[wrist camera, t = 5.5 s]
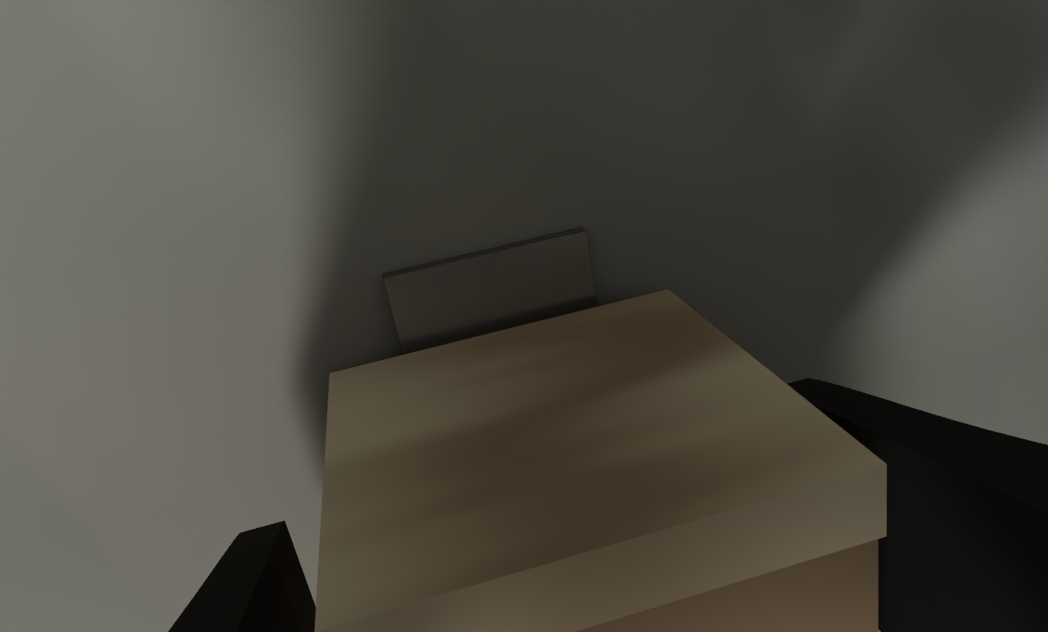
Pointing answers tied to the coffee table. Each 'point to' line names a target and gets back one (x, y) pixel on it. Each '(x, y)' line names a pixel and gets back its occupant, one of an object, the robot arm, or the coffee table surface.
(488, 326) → the rail
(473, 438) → the brown rectangular box
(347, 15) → the coffee table surface
